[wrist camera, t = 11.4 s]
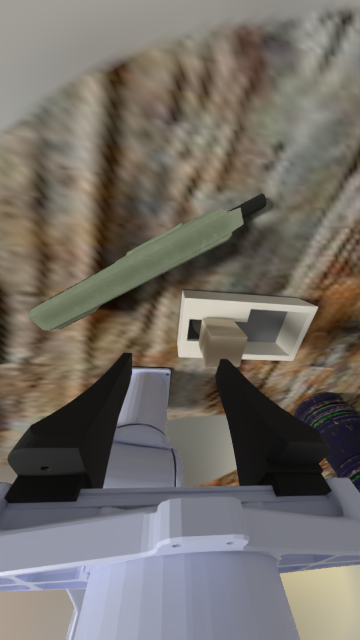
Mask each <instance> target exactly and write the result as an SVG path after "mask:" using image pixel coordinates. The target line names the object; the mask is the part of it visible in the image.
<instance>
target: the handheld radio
mask: <svg viewBox="0 0 360 640" xmlns="http://www.w3.org/2000/svg"><path fill="white" fill-rule="evenodd" d="M265 206H266V198H265V195H264V194H260V195H258V196H256V197H254V198H252V199H251V200H249V201H247V202H245V203H243V204H241V205H239V206H237V207H236V208H234V209H232V210H230V211H228V212H227V211H225V210H212V211H209V212H206V213H205V214H203V215H201V216H199V217H197V218H195V219H193V220H191V221H189V222H187V223H186V224H184V223H180V224H179V225H177V226H175V227H173V228H171V229H170V230H168V231H166V232H164V233H162V234H160V235H158V236H157V237H155V238H153V239H151V240H149V241H147V242H146V243H144V244H142V245H140V246H138V247H136V248H135V249H133V250H131V251H129V252H127V254H126V256H125V257H123V258H121V259H119V260H117V261H116V262H115V263H114V264H113V265H111V266H109V267H107V268H105V269H103V270H102V271H100V272H98V273H96V274H94V275H92V276H90V277H89V278H87V279H85V280H83V281H81V282H79V283H77V284H76V285H74V286H72V287H70V288H68V289H67V290H65V291H63V292H61V293H59V294H57V295H55V296H54V297H52V298H50V299H49V300H48V301H46V302H44V303H42V304H40V305H39V306H37V307H35V308H33V309H32V310H31V311H30V313H29V318H30V319H31V320H32V321H33V322H35V323H36V324H37V325H38V326H39V327H40V328H41V329H43V330H53V329H61V328H64V327H66V326H68V325H70V324H72V323H74V322H76V321H78V320H80V319H82V318H84V317H86V316H88V315H90V314H92V313H94V312H95V311H96V310H97V309H98V308H99V307H100V306H101V305H102V304H104V303H106V302H108V301H110V300H112V299H114V298H116V297H118V296H120V295H122V294H124V293H126V292H128V291H130V290H132V289H134V288H136V287H138V286H140V285H142V284H144V283H146V282H148V281H150V280H152V279H154V278H156V277H157V276H159V275H161V274H163V273H165V272H167V271H169V270H171V269H173V268H175V267H177V266H179V265H181V264H183V263H185V262H187V261H189V260H191V259H193V258H195V257H197V256H199V255H201V254H203V253H205V252H207V251H209V250H211V249H213V248H215V247H217V246H219V245H221V244H223V243H224V242H226V241H228V240H229V239H230V237H231V236H232V232H233V231H234V230H236V229H237V228H239V227H240V226H242V225H243V224H244V223H243V218H245V217H247V216H249V215H251V214H253V213H254V212H256V211H258V210H260V209H262V208H264V207H265Z"/></svg>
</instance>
